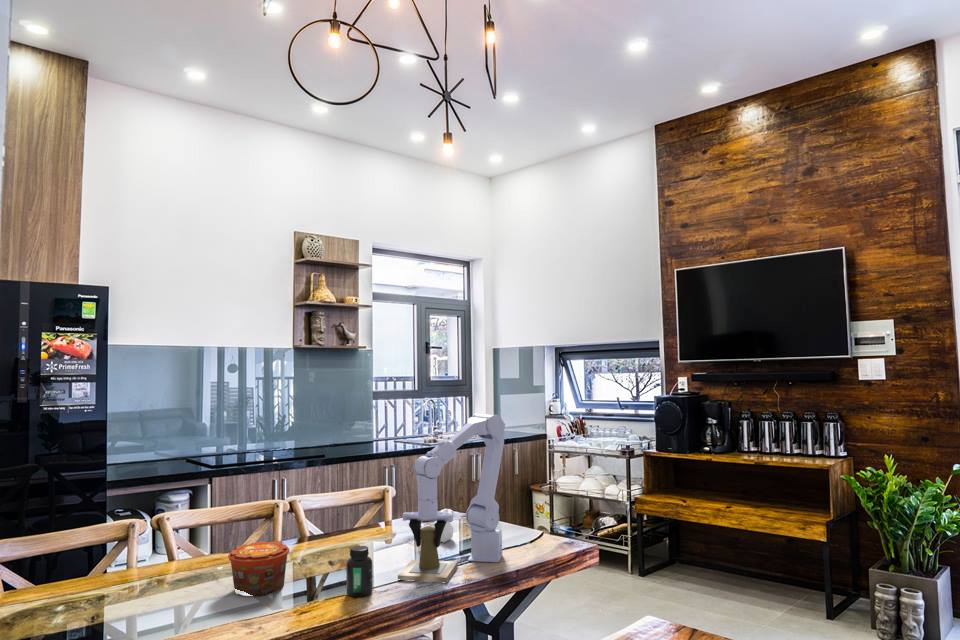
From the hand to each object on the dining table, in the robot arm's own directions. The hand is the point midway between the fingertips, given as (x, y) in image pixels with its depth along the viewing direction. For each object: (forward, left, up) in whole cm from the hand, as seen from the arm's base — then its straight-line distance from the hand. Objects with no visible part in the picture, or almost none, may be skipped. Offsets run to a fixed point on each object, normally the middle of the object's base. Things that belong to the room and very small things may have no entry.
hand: (428, 546), depth 191 cm
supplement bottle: (+14, +18, -8) cm, 24 cm away
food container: (+43, +18, -8) cm, 47 cm away
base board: (0, 0, -8) cm, 8 cm away
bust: (+4, -34, -8) cm, 35 cm away
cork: (0, -1, -6) cm, 6 cm away
